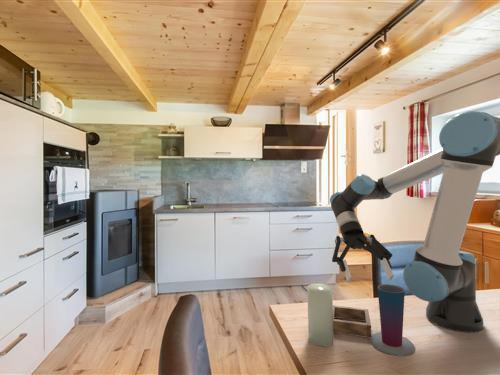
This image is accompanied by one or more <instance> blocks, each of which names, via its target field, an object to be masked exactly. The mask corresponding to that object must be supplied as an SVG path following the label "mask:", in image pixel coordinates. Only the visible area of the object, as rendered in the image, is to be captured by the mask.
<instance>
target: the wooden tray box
mask: <svg viewBox="0 0 500 375" xmlns="http://www.w3.org/2000/svg"><path fill="white" fill-rule="evenodd" d="M369 311H370V310H369V309H368V308H360V307H350V306H343V305H342V306H341V305H334V304H333V334H334V333H336V334H343V335H348V336H349V335H350V336H357V337H364V338H369V339H370V338H371V336H372V323H371V318H370V312H369ZM336 318H339V319H336ZM341 319H343V320H341ZM344 319H346V320H344ZM351 320H352V321H351ZM353 320H354V321H353ZM358 321H360V322H358ZM361 321H363V322H361Z"/></svg>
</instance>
